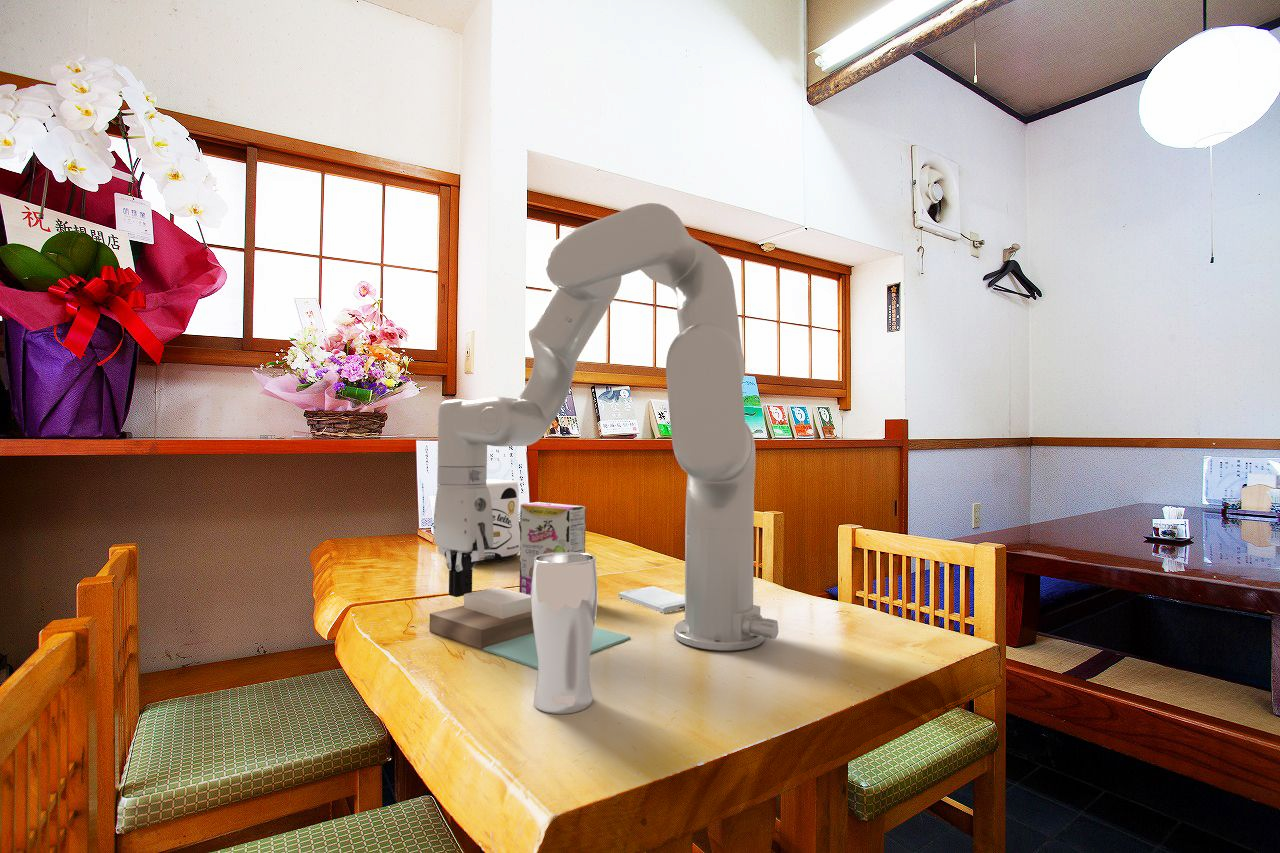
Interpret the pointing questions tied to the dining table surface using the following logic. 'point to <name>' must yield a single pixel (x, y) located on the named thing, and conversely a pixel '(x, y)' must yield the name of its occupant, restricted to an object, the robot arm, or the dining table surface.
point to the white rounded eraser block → (498, 602)
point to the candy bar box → (548, 534)
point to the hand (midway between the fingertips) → (460, 594)
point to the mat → (526, 651)
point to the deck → (479, 626)
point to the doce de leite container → (504, 520)
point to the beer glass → (563, 629)
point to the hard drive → (655, 598)
